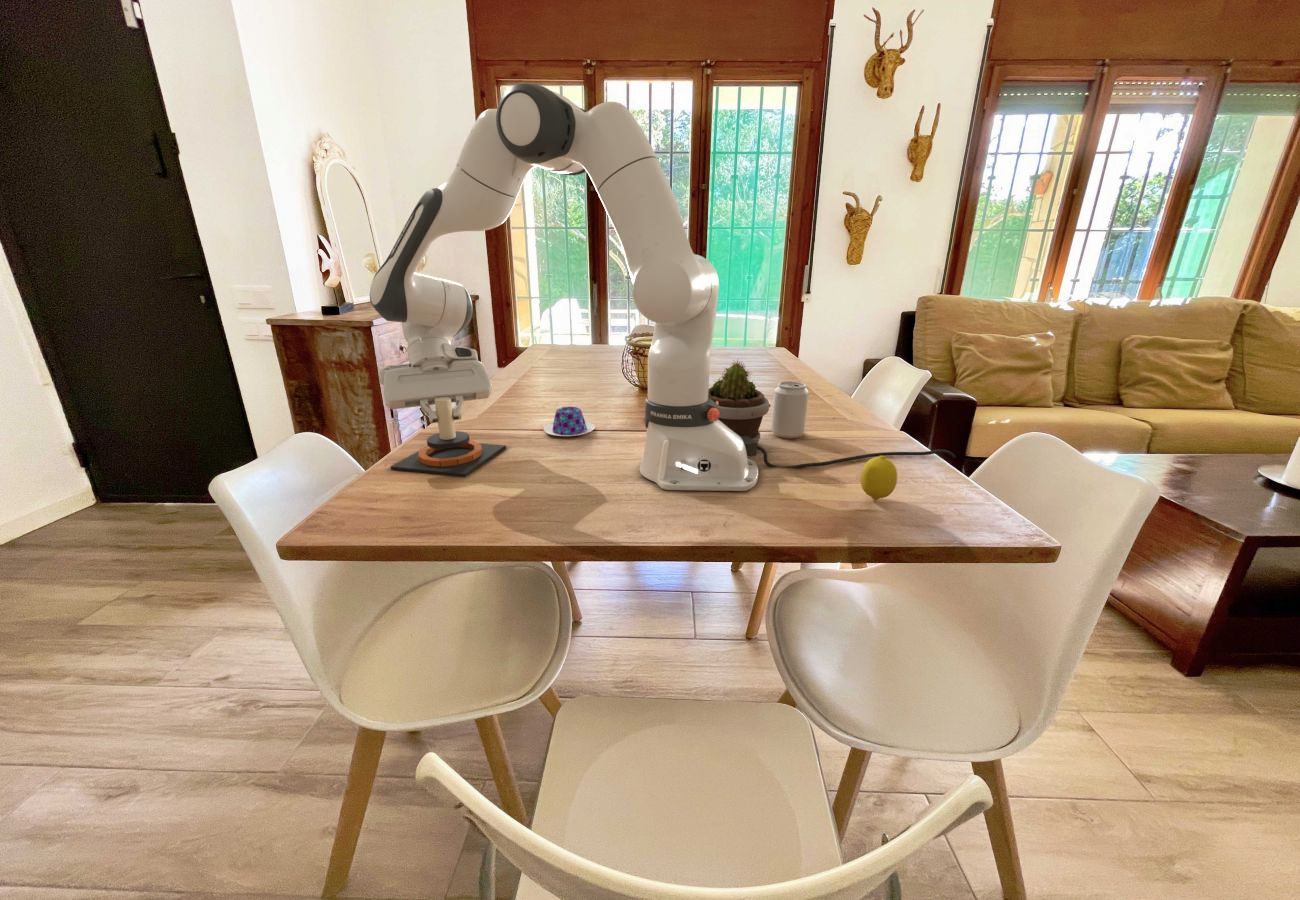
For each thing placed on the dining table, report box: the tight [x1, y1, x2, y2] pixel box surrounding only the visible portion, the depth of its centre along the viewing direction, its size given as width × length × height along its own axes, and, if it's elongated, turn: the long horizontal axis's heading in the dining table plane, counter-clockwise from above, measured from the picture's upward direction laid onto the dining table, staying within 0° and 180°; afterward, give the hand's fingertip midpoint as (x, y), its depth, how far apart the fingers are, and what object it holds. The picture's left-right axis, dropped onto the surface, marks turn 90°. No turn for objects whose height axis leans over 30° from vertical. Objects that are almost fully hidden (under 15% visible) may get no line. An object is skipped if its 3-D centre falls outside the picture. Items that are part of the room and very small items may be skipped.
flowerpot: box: [708, 358, 771, 444], centre depth 109 cm, size 14×15×20 cm
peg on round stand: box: [426, 397, 471, 449], centre depth 103 cm, size 8×8×9 cm
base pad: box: [390, 440, 507, 478], centre depth 105 cm, size 16×16×2 cm
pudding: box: [543, 406, 596, 437], centre depth 121 cm, size 12×12×5 cm
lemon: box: [860, 456, 898, 501], centre depth 86 cm, size 6×6×8 cm
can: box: [770, 380, 810, 439], centre depth 117 cm, size 8×8×12 cm
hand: (446, 419), depth 102 cm, fingers closed on peg on round stand, 3 cm apart
